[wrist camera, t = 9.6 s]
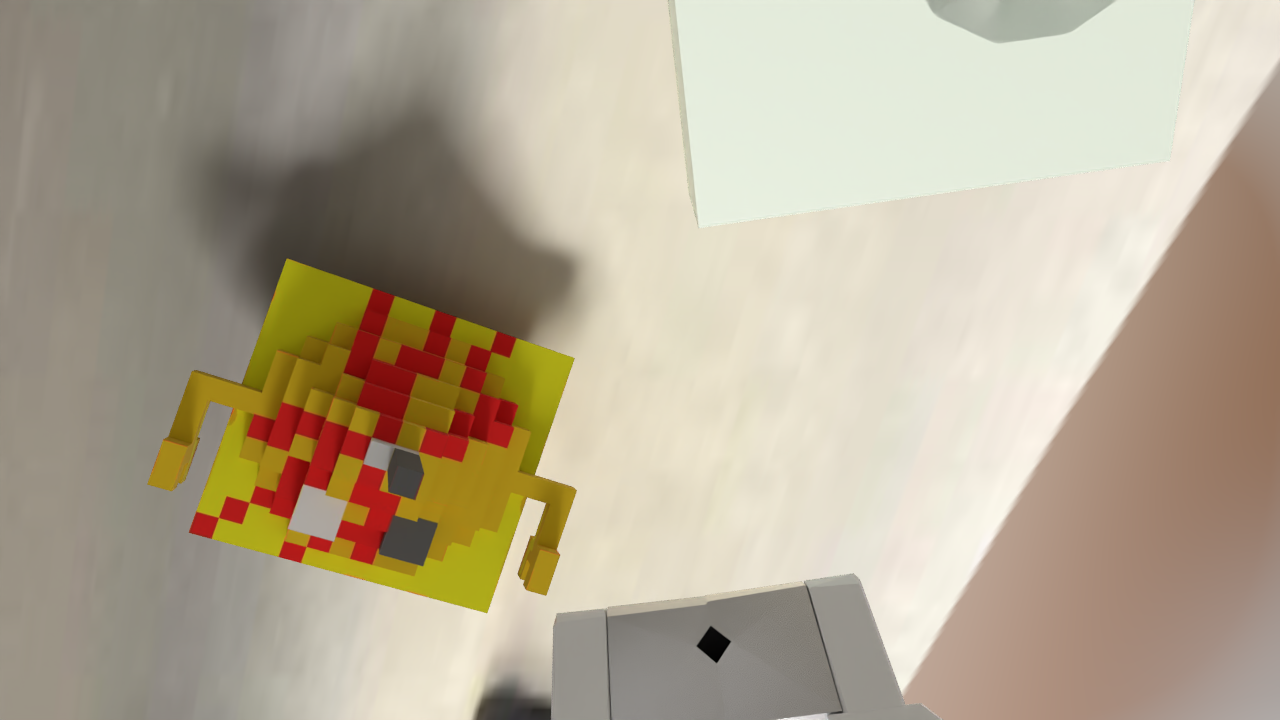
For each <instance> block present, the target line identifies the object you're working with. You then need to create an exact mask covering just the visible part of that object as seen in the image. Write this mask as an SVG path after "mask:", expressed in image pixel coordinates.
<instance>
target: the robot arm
mask: <svg viewBox="0 0 1280 720" xmlns="http://www.w3.org/2000/svg"><path fill="white" fill-rule="evenodd" d="M551 720H943V719H941V718H940V717H939V716H937V715H936V714H935V713H933V712H932V711H931V710H929V709H928V708H927V707H926V706H924V705H923V704H922V703H919V704H909V705H905V702H904V700H903V697H902V694H901V691H900V688H899V686H898V683H897V680H896V677H895V675H894V672H893V669H892V666H891V664H890V661H889V658H888V655H887V653H886V650H885V647H884V644H883V642H882V639H881V636H880V633H879V631H878V628H877V625H876V622H875V620H874V617H873V614H872V611H871V609H870V606H869V603H868V600H867V598H866V595H865V592H864V589H863V587H862V584H861V581H860V580H859V578H858V577H857V576H856V575H855V574H854V573H853V574H847V575H840V576H833V577H826V578H820V579H813V580H806V581H804V583H803V582H802V581H800V582H794V583H787V584H780V585H773V586H766V587H759V588H752V589H746V590H739V591H732V592H725V593H718V594H711V595H705V596H702V597H693V598H684V599H675V600H666V601H657V602H648V603H639V604H630V605H621V606H612V607H608V609H607V608H605V609H595V610H586V611H576V612H567V613H558V614H557V616H556V619H555V623H554V626H553V664H552V706H551Z"/></svg>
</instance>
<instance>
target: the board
mask: <svg viewBox="0 0 1280 720" xmlns="http://www.w3.org/2000/svg"><path fill="white" fill-rule="evenodd" d="M1194 1H1195V0H668V4H669V14H670V23H671V32H672V41H673V50H674V60H675V69H676V78H677V87H678V97H679V106H680V115H681V124H682V133H683V143H684V152H685V161H686V170H687V180H688V189H689V195H690V199H691V203H692V206H693V210H694V213H695V217H696V220H697V224H698V227H699V228H703V227H710V226H717V225H724V224H731V223H738V222H745V221H752V220H759V219H766V218H773V217H780V216H787V215H794V214H801V213H808V212H815V211H822V210H829V209H836V208H843V207H850V206H857V205H864V204H871V203H878V202H885V201H892V200H899V199H906V198H913V197H920V196H927V195H934V194H941V193H948V192H955V191H962V190H969V189H976V188H983V187H990V186H997V185H1004V184H1011V183H1018V182H1025V181H1032V180H1039V179H1046V178H1053V177H1060V176H1067V175H1074V174H1081V173H1088V172H1095V171H1102V170H1109V169H1116V168H1123V167H1130V166H1137V165H1144V164H1151V163H1158V162H1165V161H1170V157H1171V150H1172V144H1173V137H1174V131H1175V124H1176V118H1177V111H1178V105H1179V99H1180V92H1181V86H1182V79H1183V73H1184V66H1185V60H1186V53H1187V47H1188V40H1189V34H1190V27H1191V21H1192V14H1193V8H1194Z"/></svg>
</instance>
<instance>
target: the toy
mask: <svg viewBox="0 0 1280 720" xmlns="http://www.w3.org/2000/svg"><path fill="white" fill-rule="evenodd" d="M574 359H575V358H573V357H570V356H567V355H564V354H561V353H558V352H555V351H553V350H550V349H547V348H544V347H541V346H538V345H535V344H532V343H529V342H527V341H524V340H521V339H518V338H515V337H512V336H509V335H506V334H503V333H501V332H498V331H495V330H492V329H489V328H486V327H483V326H480V325H477V324H475V323H472V322H469V321H466V320H463V319H460V318H457V317H454V316H452V315H449V314H446V313H443V312H440V311H437V310H434V309H431V308H428V307H426V306H423V305H420V304H417V303H414V302H411V301H408V300H405V299H402V298H400V297H397V296H394V295H391V294H388V293H385V292H382V291H379V290H376V289H374V288H371V287H368V286H365V285H362V284H359V283H356V282H353V281H351V280H348V279H345V278H342V277H339V276H336V275H333V274H330V273H327V272H325V271H322V270H319V269H316V268H313V267H310V266H307V265H304V264H301V263H299V262H296V261H293V260H290V259H286V262H285V265H284V268H283V270H282V273H281V276H280V279H279V282H278V284H277V287H276V290H275V293H274V296H273V298H272V301H271V304H270V307H269V310H268V312H267V315H266V318H265V321H264V324H263V326H262V329H261V332H260V335H259V338H258V340H257V343H256V346H255V349H254V352H253V354H252V357H251V360H250V363H249V365H248V368H247V371H246V374H245V377H244V379H243V382H242V384H240V383H237V382H233V381H230V380H227V379H224V378H220V377H217V376H214V375H211V374H208V373H204V372H201V371H198V370H194V371H192V372H191V375H190V378H189V381H188V384H187V386H186V389H185V392H184V395H183V397H182V400H181V403H180V406H179V409H178V411H177V414H176V417H175V420H174V422H173V425H172V428H171V431H170V434H169V436H168V437H167V438H165V439H163V442H162V445H161V448H160V450H159V453H158V456H157V459H156V462H155V464H154V467H153V470H152V473H151V475H150V478H149V481H148V484H147V485H151V486H155V487H158V488H162V489H165V490H169V491H173V490H174V489H175V488H176V487H177V484H178V483H182V482H183V481H185V479H186V476H187V474H188V471H189V468H190V465H191V463H192V460H193V457H194V454H195V451H196V449H197V446H198V443H199V440H200V438H198V435H199V432H200V429H201V426H202V423H203V421H204V418H205V415H206V412H207V409H208V407H209V404H210V401H212V402H215V403H219V404H222V405H225V406H229V407H232V408H233V410H232V413H231V416H230V419H229V421H228V424H227V427H226V430H225V433H224V435H223V438H222V441H221V444H220V447H219V449H218V452H217V455H216V458H215V461H214V463H213V466H212V469H211V472H210V475H209V477H208V480H207V483H206V486H205V489H204V491H203V494H202V497H201V500H200V503H199V505H198V508H197V511H196V514H195V516H194V519H193V522H192V525H191V528H190V530H189V533H192V534H195V535H199V536H203V537H207V538H210V539H214V540H218V541H221V542H225V543H229V544H233V545H236V546H240V547H244V548H247V549H251V550H255V551H259V552H262V553H266V554H270V555H273V556H277V557H281V558H284V559H288V560H292V561H296V562H299V563H303V564H307V565H310V566H314V567H318V568H322V569H325V570H329V571H333V572H336V573H340V574H344V575H348V576H351V577H355V578H359V579H362V580H366V581H370V582H373V583H377V584H381V585H385V586H388V587H392V588H396V589H399V590H403V591H407V592H411V593H414V594H418V595H422V596H425V597H429V598H433V599H437V600H440V601H444V602H448V603H451V604H455V605H459V606H463V607H466V608H470V609H474V610H477V611H481V612H485V613H487V612H488V609H489V607H490V604H491V601H492V598H493V595H494V592H495V589H496V586H497V583H498V580H499V577H500V574H501V572H502V569H503V566H504V563H505V560H506V557H507V554H508V551H509V548H510V545H511V542H512V539H513V537H514V534H515V531H516V528H517V525H518V522H519V519H520V516H521V513H522V510H523V507H524V504H525V502H526V499H527V497H528V498H531V499H534V500H538V501H541V502H544V503H546V505H545V508H544V511H543V514H542V517H541V520H540V523H539V526H538V529H537V532H536V535H535V536H530V539H529V542H528V545H527V548H526V551H525V554H524V557H523V559H522V562H521V565H520V568H519V571H518V576H519V577H520V579H522V580H525V581H524V584H523V585H524V587H525V589H526V590H528V591H531V592H535V593H538V594H542V595H547V592H548V589H549V586H550V583H551V580H552V577H553V574H554V571H555V569H556V566H557V563H558V560H559V557H560V554H559V553H558V551H557V547H558V544H559V541H560V538H561V535H562V532H563V529H564V527H565V524H566V521H567V518H568V515H569V512H570V509H571V506H572V503H573V500H574V497H575V494H576V491H577V490H576V489H575V488H573V487H571V486H568V485H565V484H561V483H558V482H555V481H552V480H549V479H545V478H542V477H539V476H536V475H535V472H536V469H537V467H538V464H539V461H540V458H541V455H542V452H543V449H544V446H545V443H546V440H547V437H548V434H549V432H550V429H551V426H552V423H553V420H554V417H555V414H556V411H557V408H558V405H559V402H560V399H561V397H562V394H563V391H564V388H565V385H566V382H567V379H568V376H569V373H570V370H571V367H572V364H573V362H574Z"/></svg>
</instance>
